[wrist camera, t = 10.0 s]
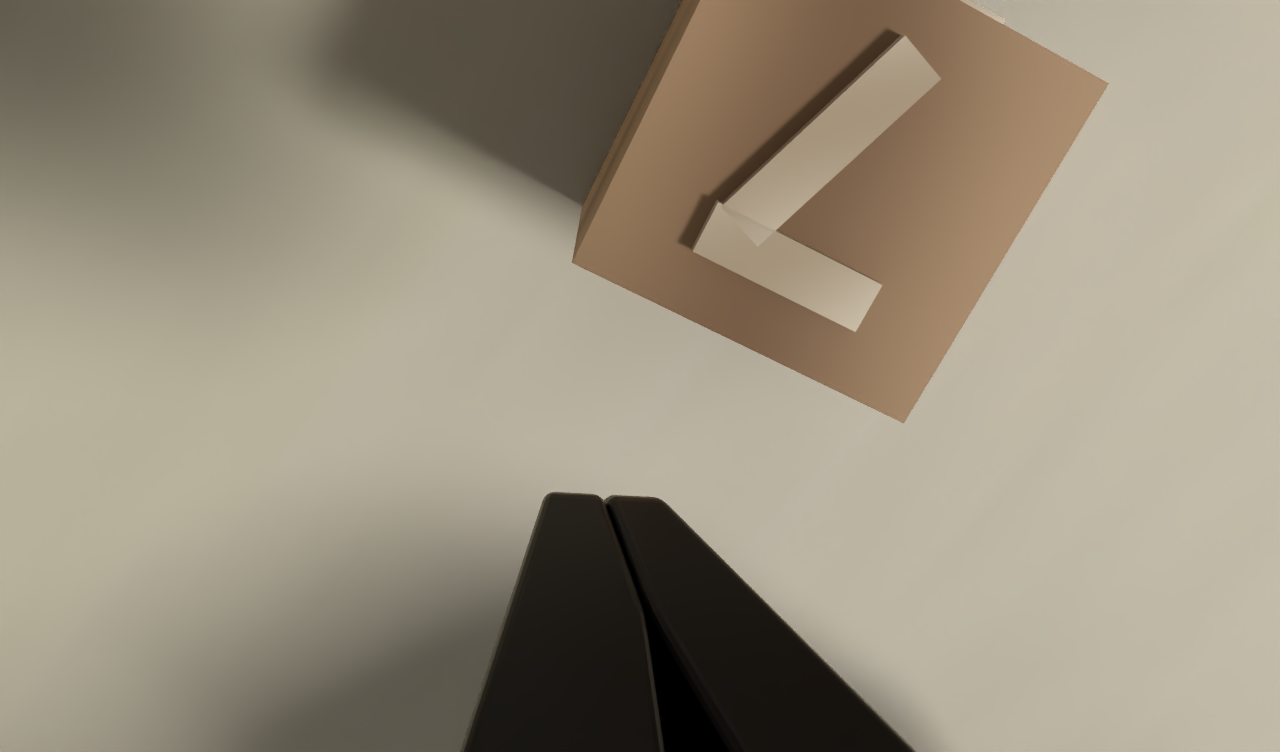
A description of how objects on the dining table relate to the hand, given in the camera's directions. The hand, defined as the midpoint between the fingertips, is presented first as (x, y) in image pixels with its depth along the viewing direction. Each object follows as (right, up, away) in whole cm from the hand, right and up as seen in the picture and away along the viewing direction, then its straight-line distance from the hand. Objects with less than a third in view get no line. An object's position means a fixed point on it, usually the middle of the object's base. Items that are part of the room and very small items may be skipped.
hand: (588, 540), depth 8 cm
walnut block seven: (+3, +5, +11) cm, 12 cm away
